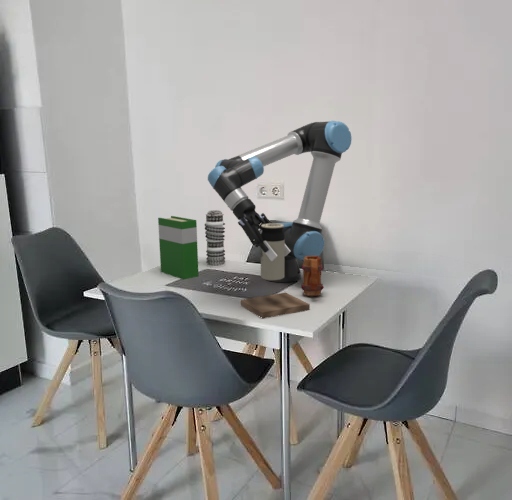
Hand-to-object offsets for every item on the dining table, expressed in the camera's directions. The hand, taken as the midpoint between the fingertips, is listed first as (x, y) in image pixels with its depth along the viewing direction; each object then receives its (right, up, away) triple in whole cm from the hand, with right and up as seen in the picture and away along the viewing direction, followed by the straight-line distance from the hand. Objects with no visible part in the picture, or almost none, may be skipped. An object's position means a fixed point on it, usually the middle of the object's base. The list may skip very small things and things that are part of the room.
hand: (281, 256), depth 179 cm
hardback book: (-41, -9, +53) cm, 68 cm away
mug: (+12, -15, +17) cm, 26 cm away
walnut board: (-2, -18, +6) cm, 19 cm away
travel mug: (-3, -8, +3) cm, 9 cm away
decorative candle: (-27, -5, +68) cm, 74 cm away
